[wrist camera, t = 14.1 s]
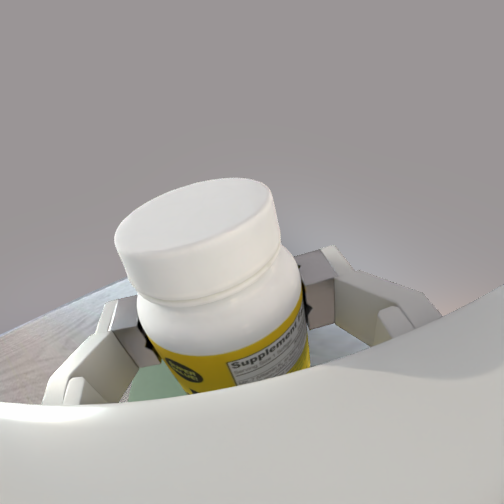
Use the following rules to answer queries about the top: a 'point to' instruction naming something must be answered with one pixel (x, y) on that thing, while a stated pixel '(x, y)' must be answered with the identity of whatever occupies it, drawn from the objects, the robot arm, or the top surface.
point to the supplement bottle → (216, 284)
